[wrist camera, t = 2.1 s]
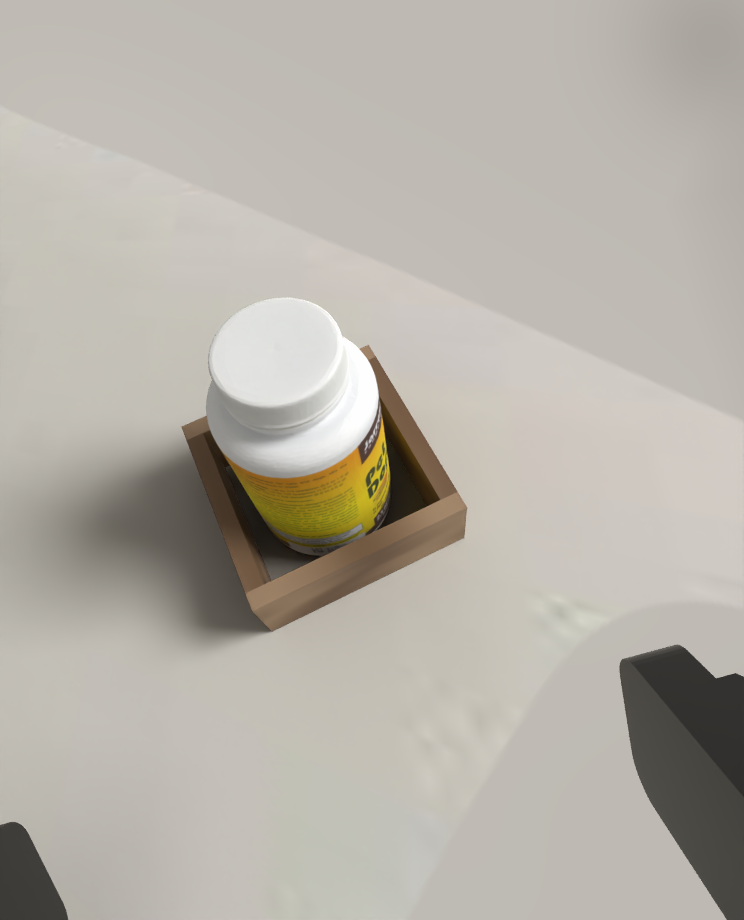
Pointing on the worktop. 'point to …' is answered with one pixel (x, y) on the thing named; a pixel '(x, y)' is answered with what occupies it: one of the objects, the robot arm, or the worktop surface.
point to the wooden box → (356, 559)
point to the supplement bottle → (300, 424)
